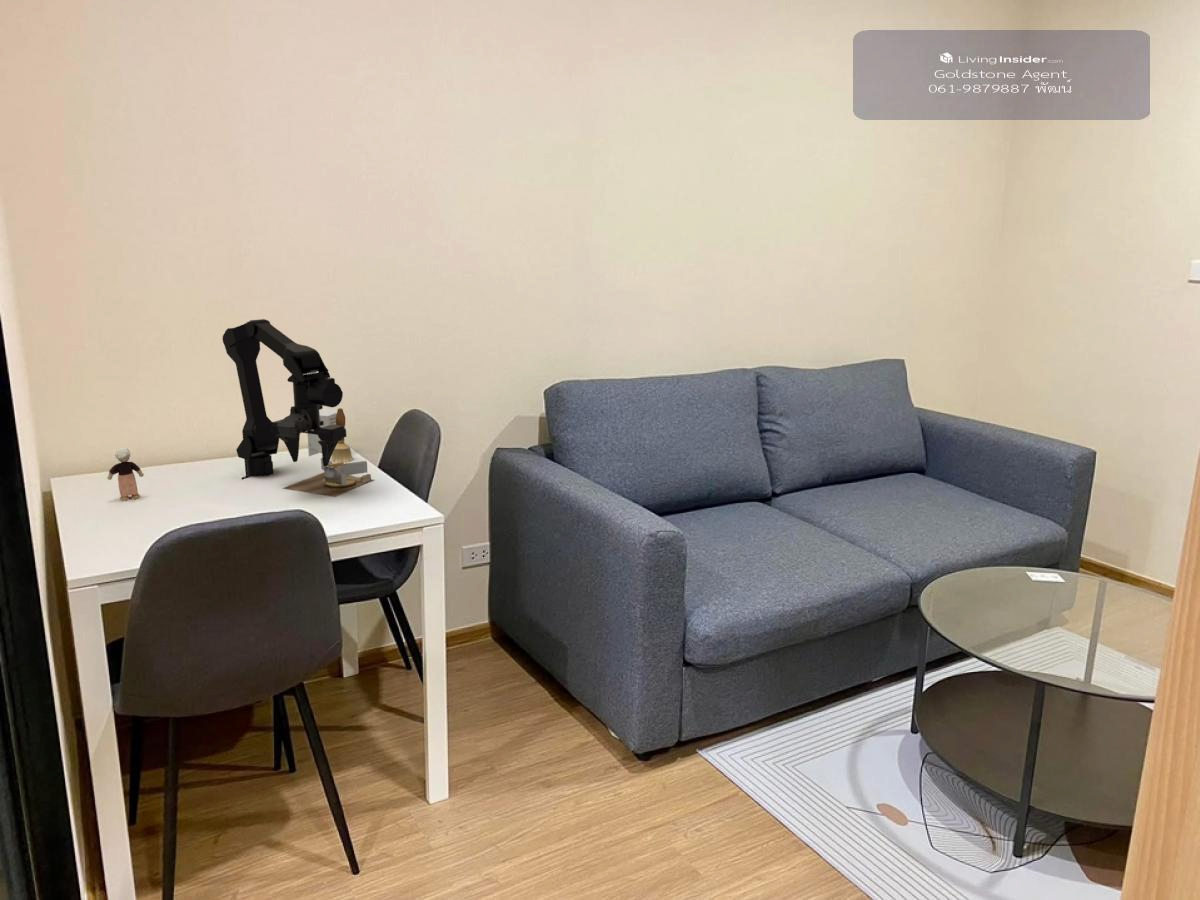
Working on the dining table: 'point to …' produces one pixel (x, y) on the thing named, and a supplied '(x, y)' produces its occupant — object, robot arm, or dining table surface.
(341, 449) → the hand bell
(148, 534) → the dining table surface
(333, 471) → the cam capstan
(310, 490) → the stand
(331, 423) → the supplement box
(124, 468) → the grandmother figurine
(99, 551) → the dining table surface
